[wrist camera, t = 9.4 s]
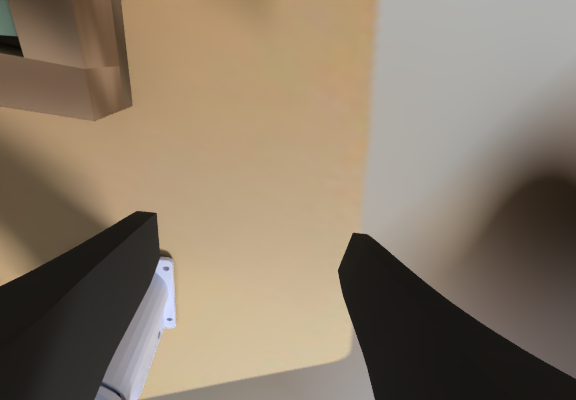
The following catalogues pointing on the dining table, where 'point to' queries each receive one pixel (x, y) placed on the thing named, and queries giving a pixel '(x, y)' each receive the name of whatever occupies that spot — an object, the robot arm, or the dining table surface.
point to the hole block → (65, 59)
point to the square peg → (6, 20)
